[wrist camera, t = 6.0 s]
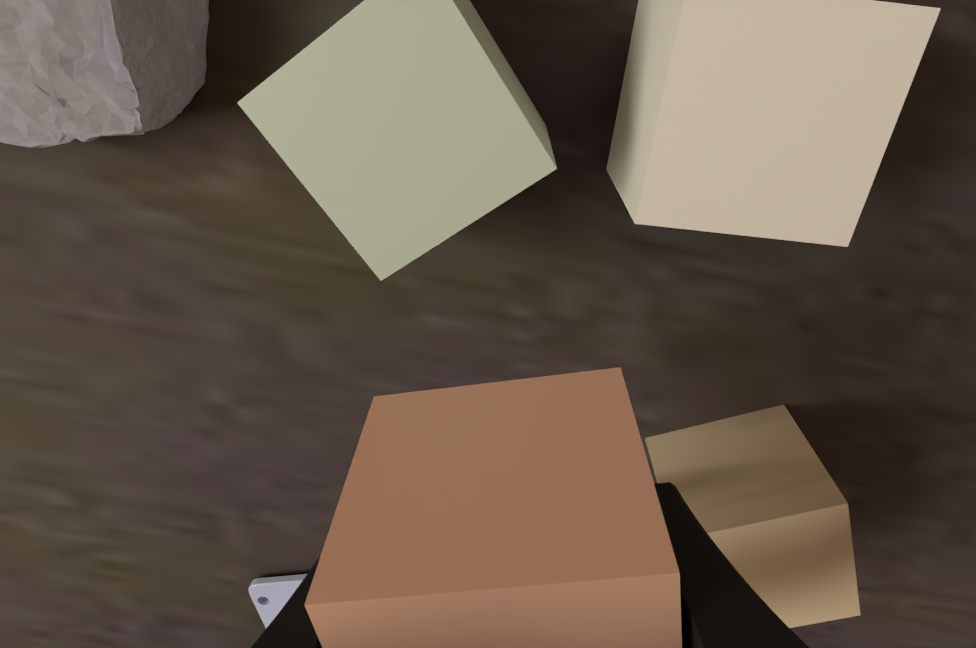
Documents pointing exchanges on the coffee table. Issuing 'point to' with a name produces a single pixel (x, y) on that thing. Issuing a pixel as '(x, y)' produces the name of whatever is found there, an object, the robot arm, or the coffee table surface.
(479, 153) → the sage cube
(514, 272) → the coffee table surface
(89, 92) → the stone block
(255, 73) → the coffee table surface
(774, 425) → the maple cube
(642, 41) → the cream cube
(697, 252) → the coffee table surface
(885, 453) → the coffee table surface
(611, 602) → the terracotta cube
